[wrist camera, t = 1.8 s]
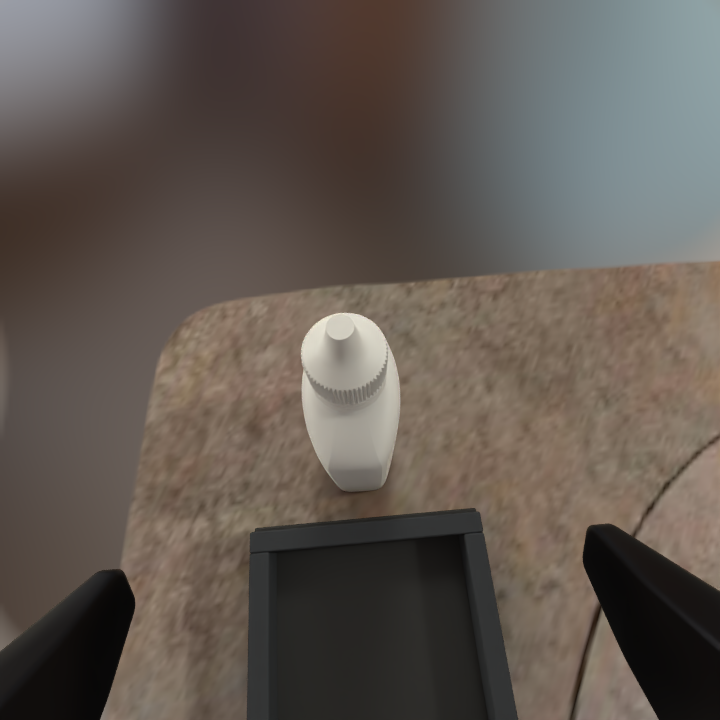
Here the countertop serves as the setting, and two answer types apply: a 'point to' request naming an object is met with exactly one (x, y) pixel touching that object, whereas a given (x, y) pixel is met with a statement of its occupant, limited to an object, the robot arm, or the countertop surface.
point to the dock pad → (376, 621)
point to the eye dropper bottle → (351, 400)
